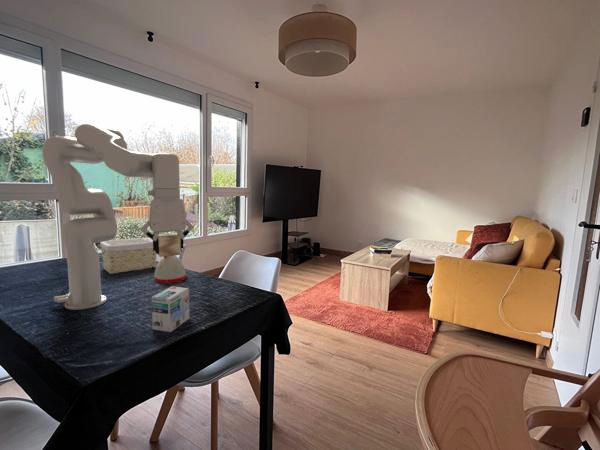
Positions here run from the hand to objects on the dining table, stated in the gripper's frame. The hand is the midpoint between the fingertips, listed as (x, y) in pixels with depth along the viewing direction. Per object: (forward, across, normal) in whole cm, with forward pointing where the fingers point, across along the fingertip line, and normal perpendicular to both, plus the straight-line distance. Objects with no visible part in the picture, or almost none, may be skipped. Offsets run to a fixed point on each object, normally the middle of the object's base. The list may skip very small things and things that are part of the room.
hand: (168, 251), depth 95 cm
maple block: (+1, 0, 0) cm, 1 cm away
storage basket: (+24, -7, +77) cm, 81 cm away
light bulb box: (+24, 0, 0) cm, 24 cm away
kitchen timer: (+24, +8, +50) cm, 56 cm away
